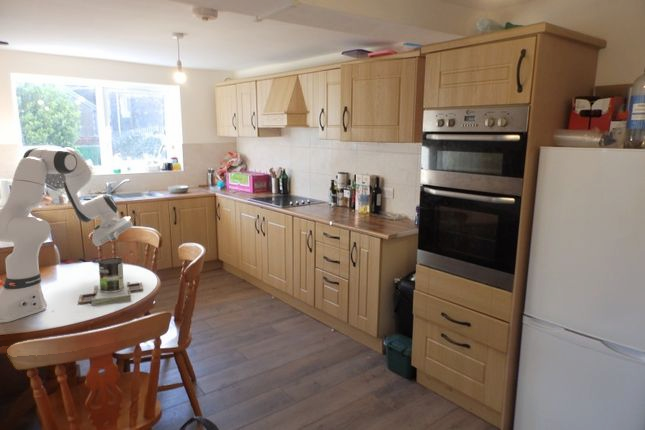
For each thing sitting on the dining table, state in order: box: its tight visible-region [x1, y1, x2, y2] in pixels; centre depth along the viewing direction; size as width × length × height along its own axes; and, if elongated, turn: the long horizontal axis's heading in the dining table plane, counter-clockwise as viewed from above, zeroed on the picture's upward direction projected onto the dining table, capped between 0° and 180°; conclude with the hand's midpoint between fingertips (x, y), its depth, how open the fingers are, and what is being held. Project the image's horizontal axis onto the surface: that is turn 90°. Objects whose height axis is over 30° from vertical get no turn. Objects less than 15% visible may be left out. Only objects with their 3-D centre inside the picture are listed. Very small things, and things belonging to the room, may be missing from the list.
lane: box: [77, 281, 144, 306], centre depth 197 cm, size 24×26×2 cm
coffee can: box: [98, 257, 125, 294], centre depth 203 cm, size 10×10×14 cm
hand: (113, 239), depth 210 cm, fingers closed
